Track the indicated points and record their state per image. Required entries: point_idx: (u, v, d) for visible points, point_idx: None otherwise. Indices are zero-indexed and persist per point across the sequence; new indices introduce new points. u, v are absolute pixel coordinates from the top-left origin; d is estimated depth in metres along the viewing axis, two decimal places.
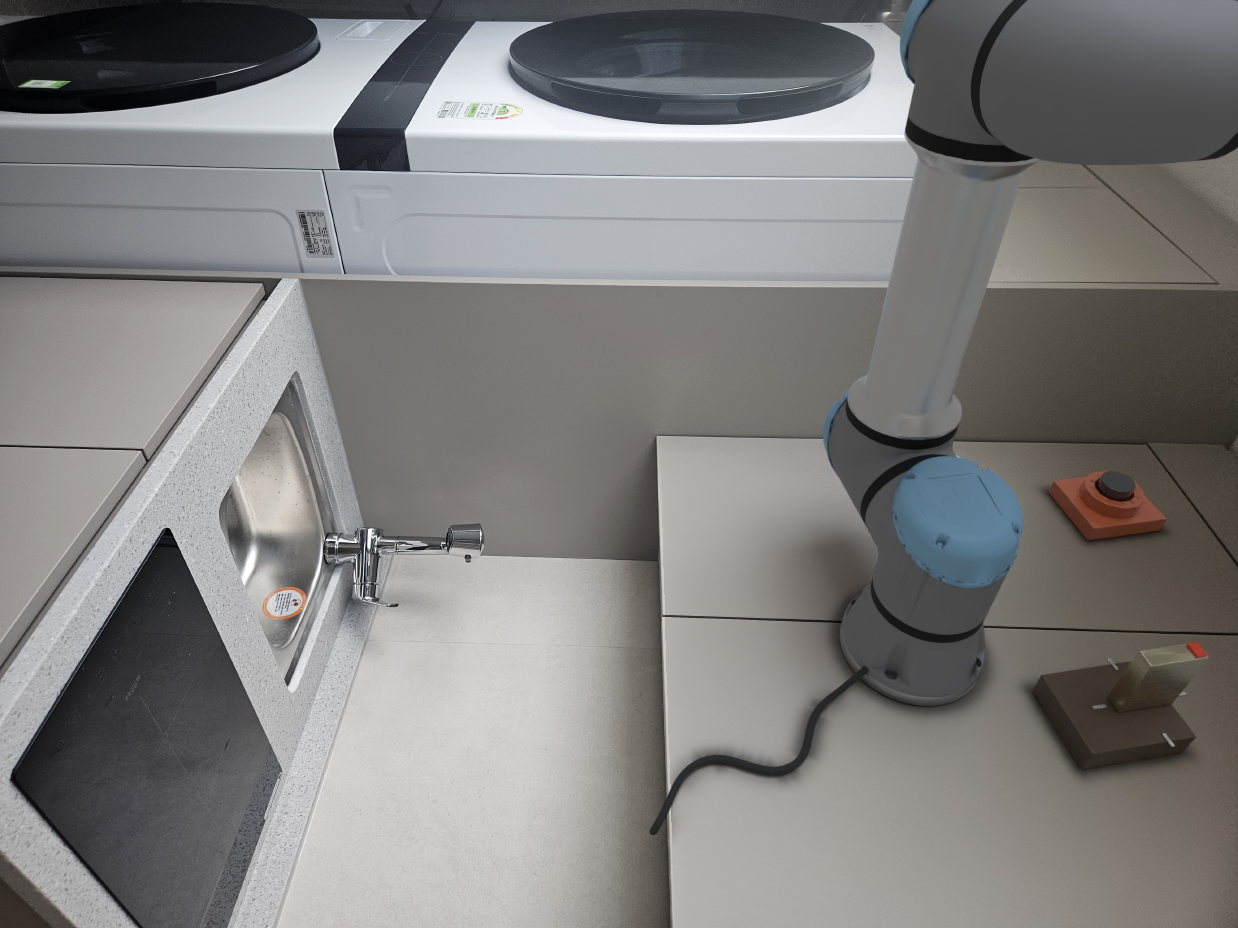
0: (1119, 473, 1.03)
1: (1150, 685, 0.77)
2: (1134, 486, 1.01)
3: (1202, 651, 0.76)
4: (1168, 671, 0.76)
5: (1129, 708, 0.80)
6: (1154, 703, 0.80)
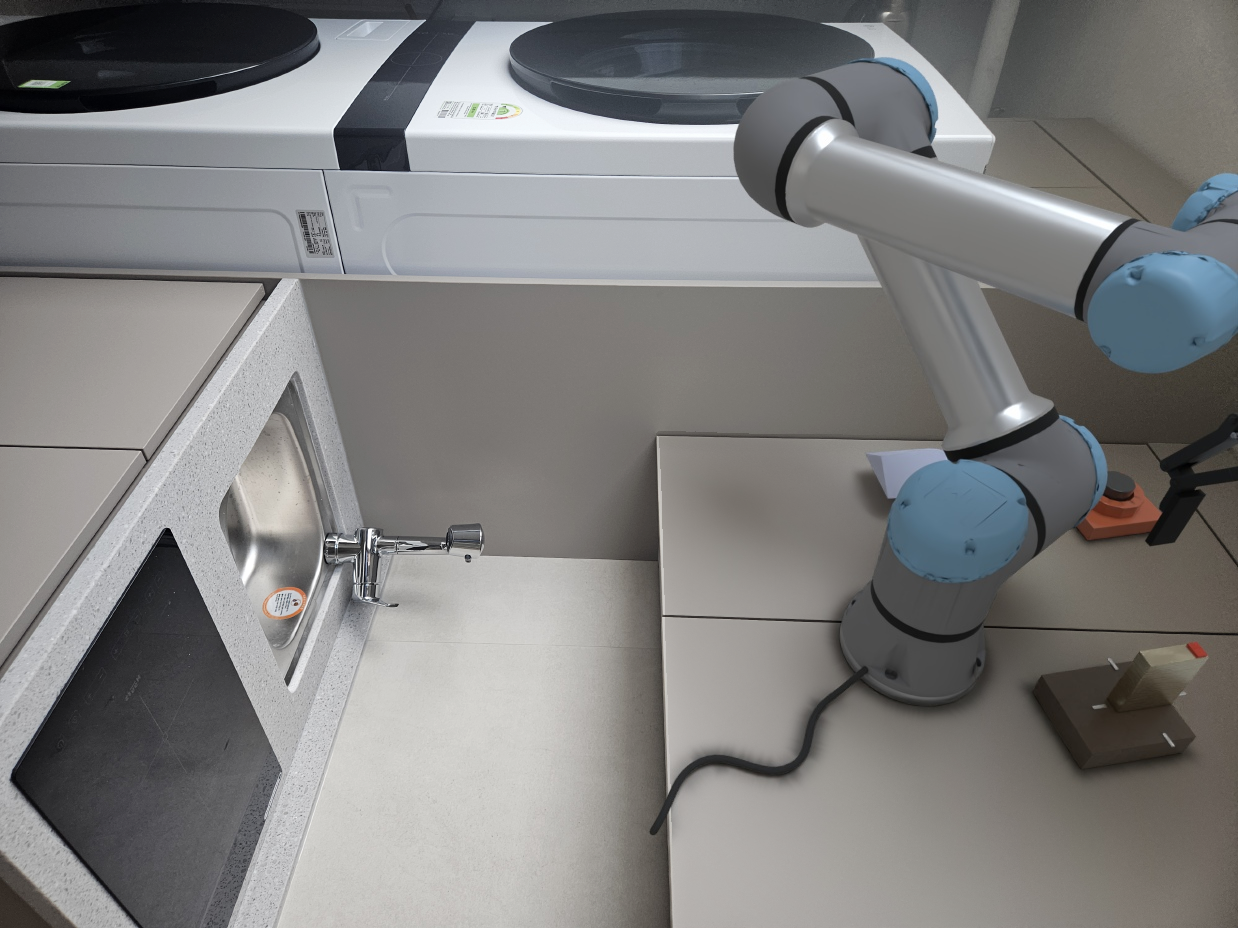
0: (1119, 473, 1.03)
1: (1150, 685, 0.77)
2: (1134, 486, 1.01)
3: (1202, 651, 0.76)
4: (1168, 671, 0.76)
5: (1129, 708, 0.80)
6: (1154, 703, 0.80)
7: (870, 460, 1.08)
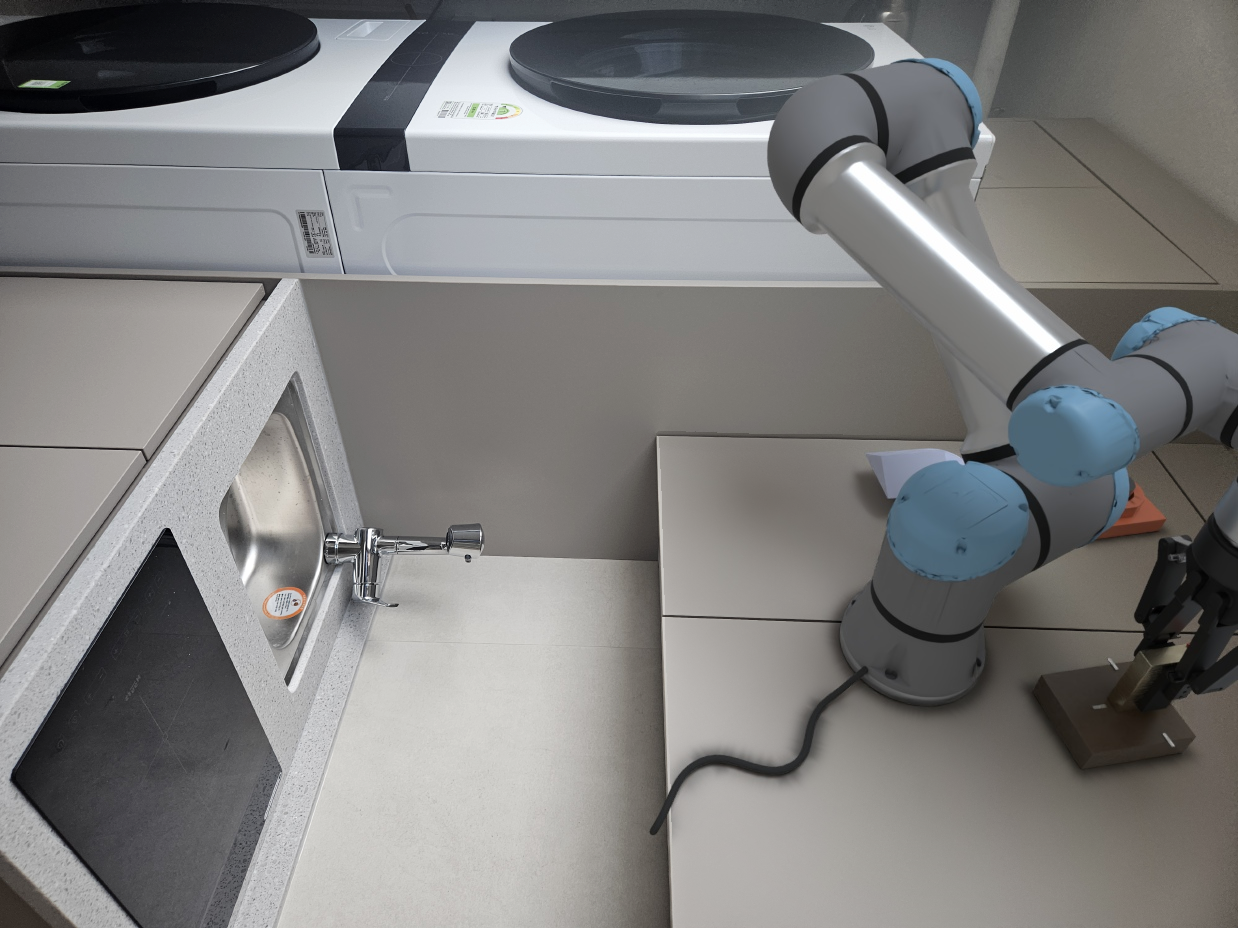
0: None
1: (1150, 685, 0.77)
2: (1134, 486, 1.01)
3: None
4: None
5: (1129, 708, 0.80)
6: None
7: (870, 460, 1.08)
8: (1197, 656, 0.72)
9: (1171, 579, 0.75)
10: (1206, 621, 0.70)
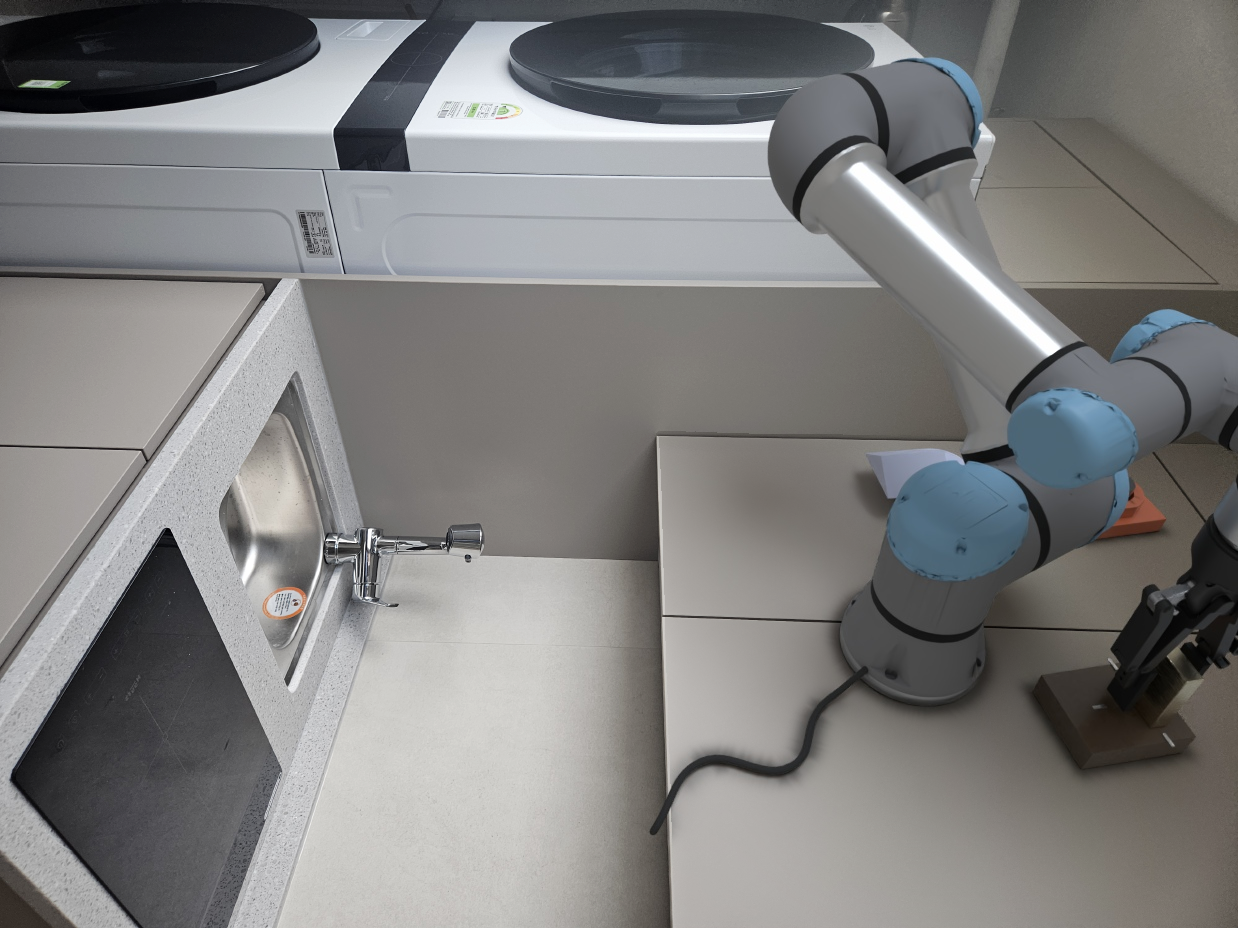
0: None
1: None
2: (1134, 486, 1.01)
3: None
4: None
5: None
6: None
7: (870, 460, 1.08)
8: (1233, 637, 0.73)
9: None
10: None
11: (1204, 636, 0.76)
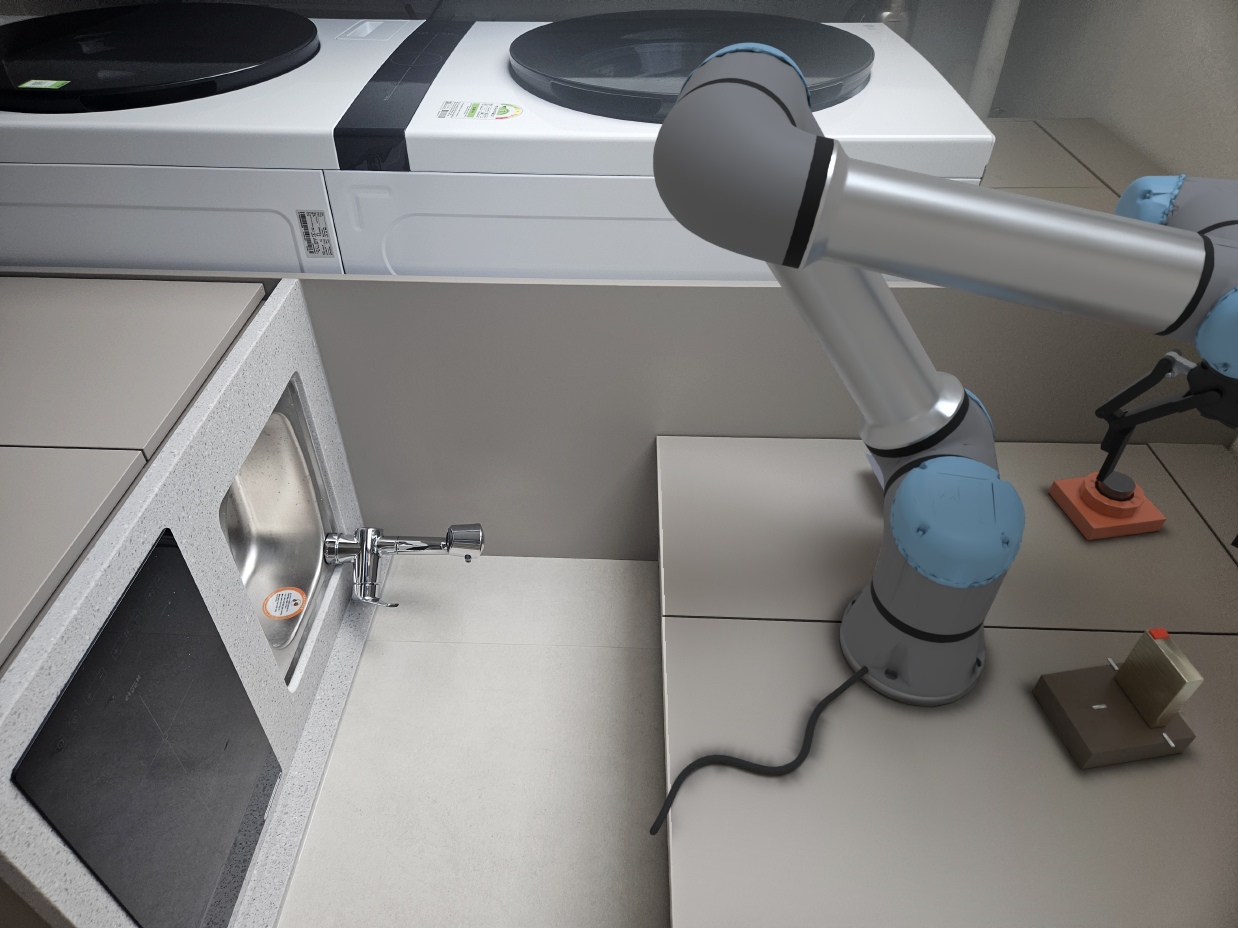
0: (1119, 473, 1.03)
1: None
2: (1134, 486, 1.01)
3: (1161, 630, 0.78)
4: None
5: None
6: None
7: (870, 460, 1.08)
8: None
9: None
10: None
11: None
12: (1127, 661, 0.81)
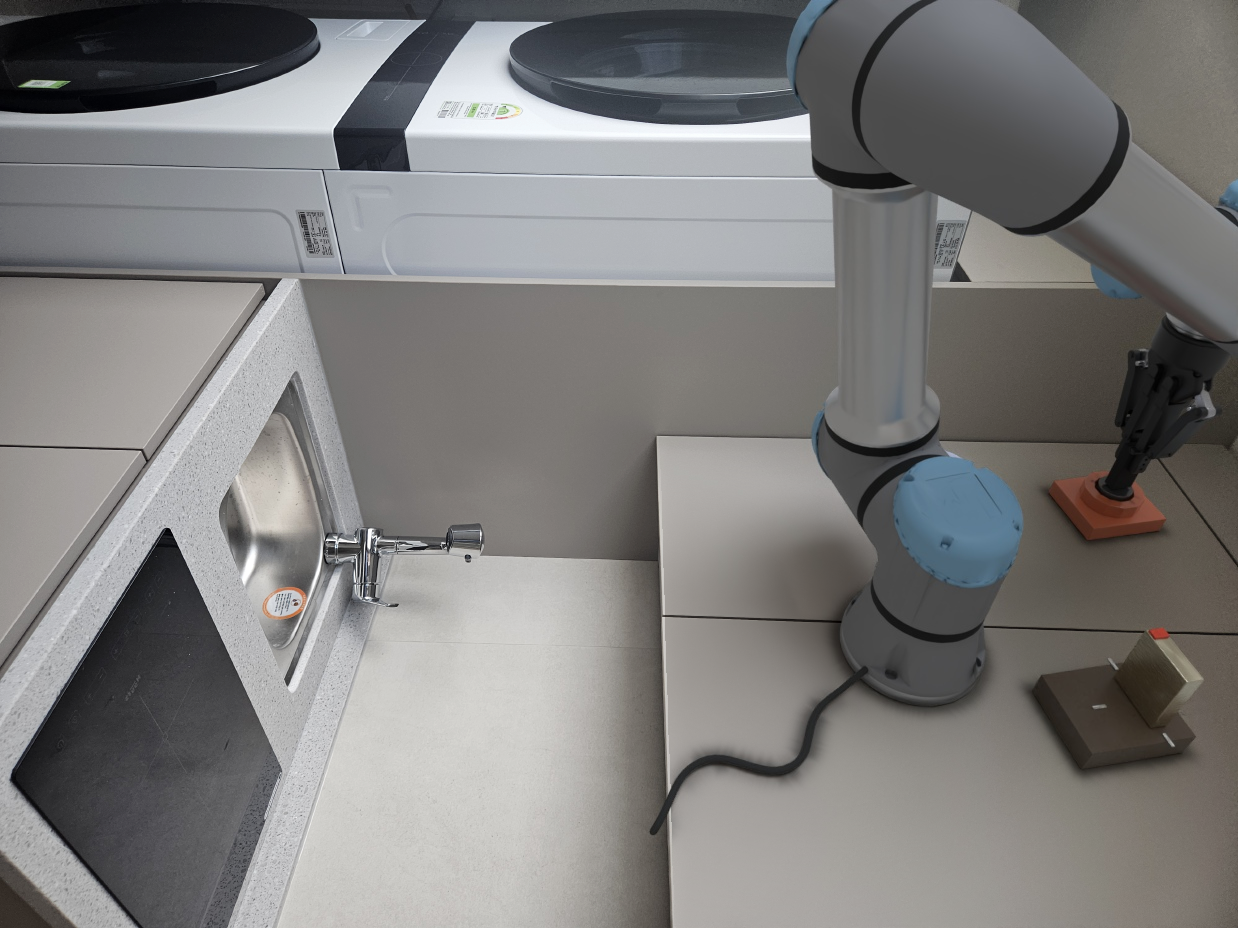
0: None
1: None
2: (1131, 491, 1.02)
3: (1161, 630, 0.78)
4: None
5: None
6: None
7: None
8: (1153, 431, 0.94)
9: (1140, 384, 0.97)
10: (1160, 401, 0.92)
11: None
12: (1127, 661, 0.81)
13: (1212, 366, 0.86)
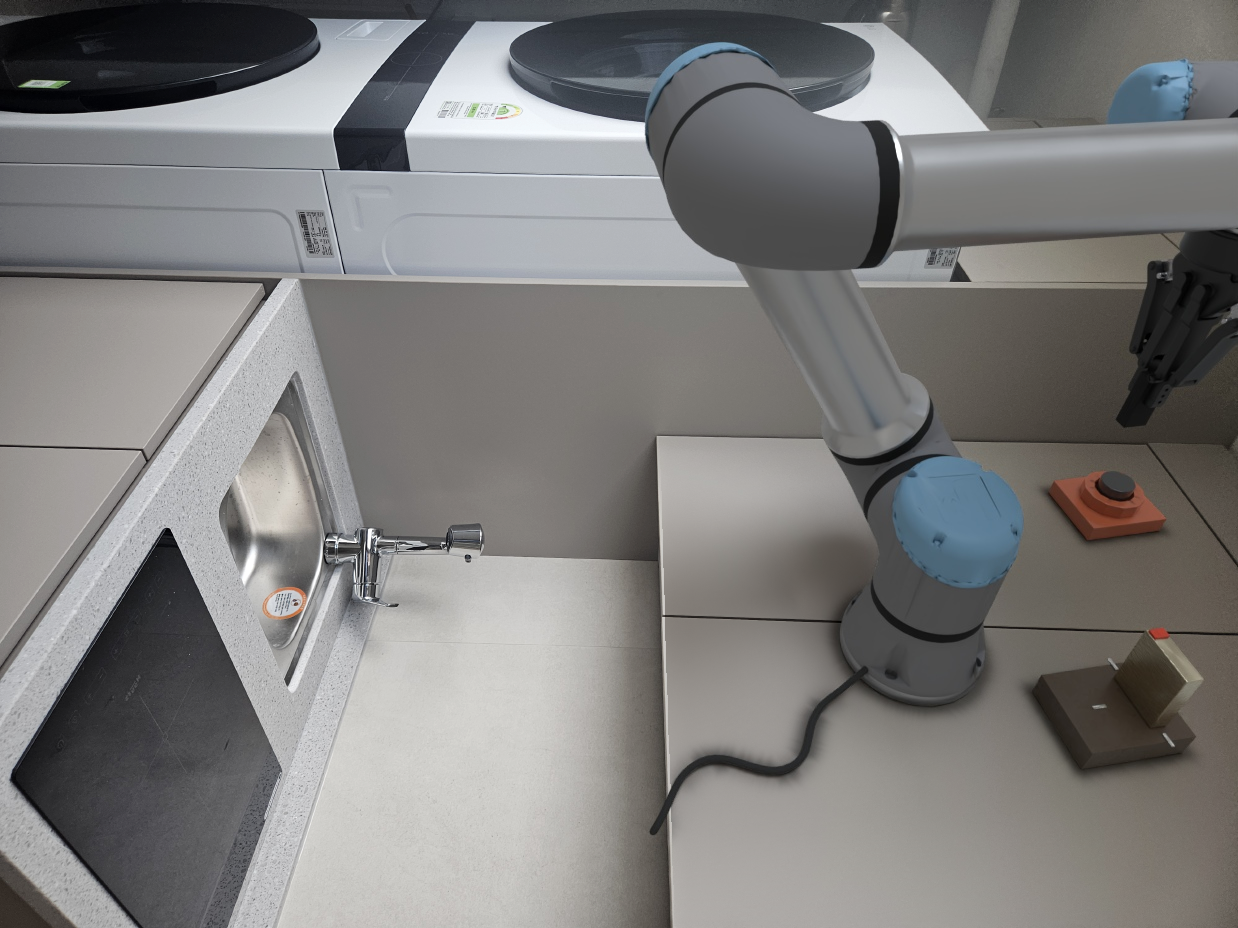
0: (1119, 473, 1.03)
1: None
2: (1134, 486, 1.01)
3: (1161, 630, 0.78)
4: None
5: None
6: None
7: None
8: (1177, 354, 0.81)
9: (1160, 301, 0.83)
10: (1188, 315, 0.78)
11: None
12: (1127, 661, 0.81)
13: None
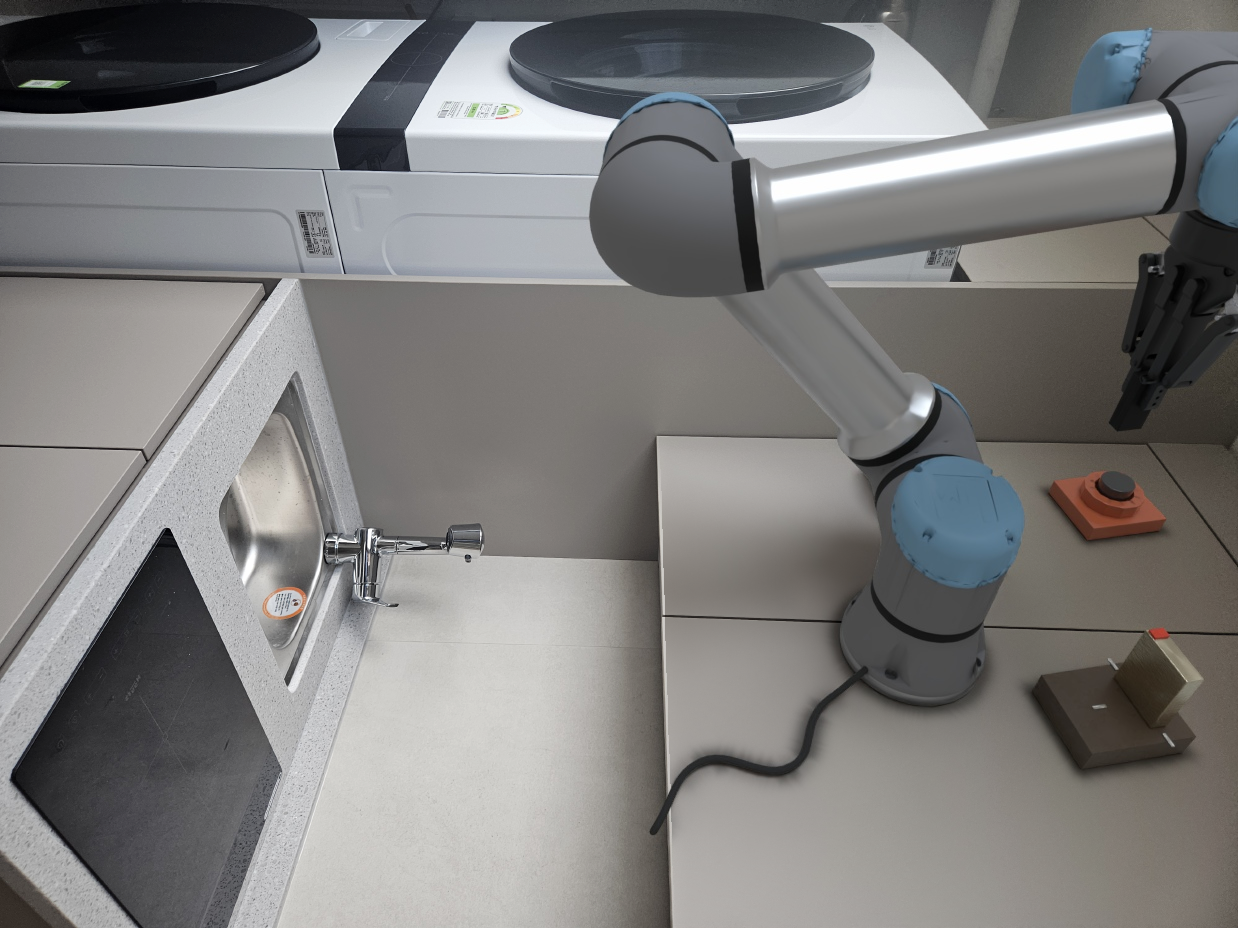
0: (1119, 473, 1.03)
1: None
2: (1134, 486, 1.01)
3: (1161, 630, 0.78)
4: None
5: None
6: None
7: None
8: (1170, 353, 0.75)
9: (1153, 297, 0.78)
10: (1181, 312, 0.73)
11: None
12: (1127, 661, 0.81)
13: None
